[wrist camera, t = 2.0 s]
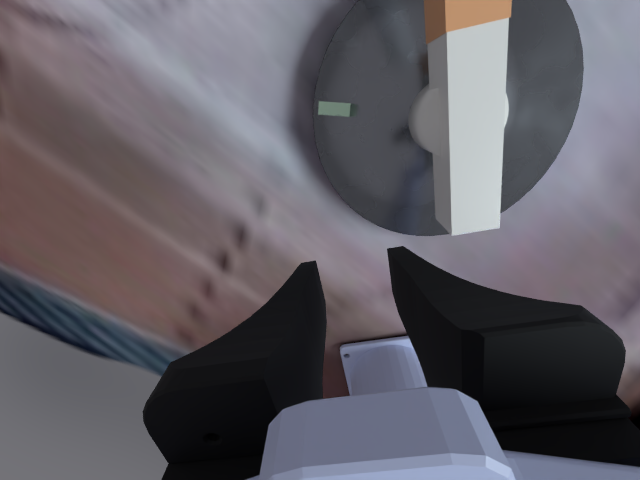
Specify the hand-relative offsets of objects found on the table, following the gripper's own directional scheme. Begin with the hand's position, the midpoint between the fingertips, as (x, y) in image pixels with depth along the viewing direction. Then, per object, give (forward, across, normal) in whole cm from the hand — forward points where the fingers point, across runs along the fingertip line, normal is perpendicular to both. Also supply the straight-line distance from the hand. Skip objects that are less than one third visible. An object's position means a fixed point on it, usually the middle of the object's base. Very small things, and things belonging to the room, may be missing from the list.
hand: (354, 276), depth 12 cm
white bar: (+8, -6, -5) cm, 11 cm away
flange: (+10, -6, -4) cm, 13 cm away
